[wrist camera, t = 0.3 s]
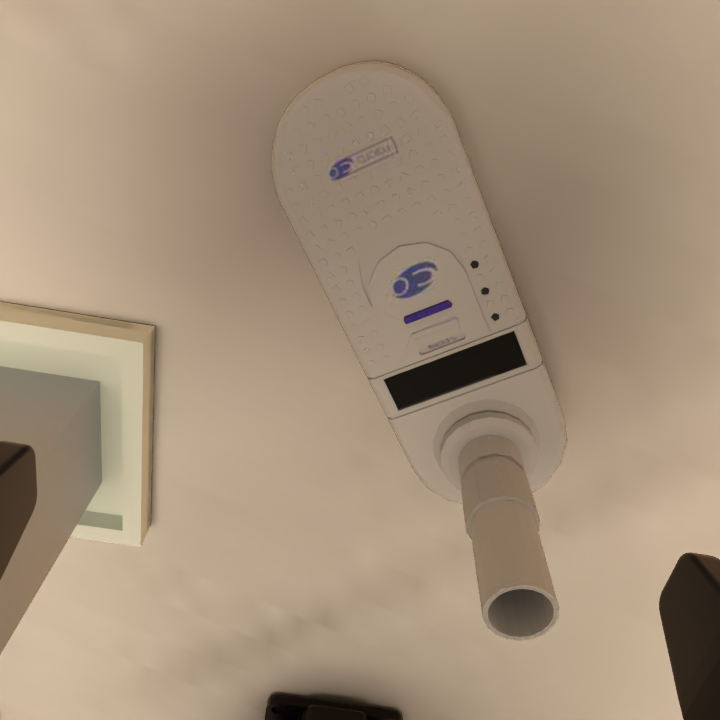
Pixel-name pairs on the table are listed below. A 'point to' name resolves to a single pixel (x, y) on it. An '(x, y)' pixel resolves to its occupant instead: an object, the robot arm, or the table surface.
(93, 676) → the table surface
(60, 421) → the plug
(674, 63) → the table surface
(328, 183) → the electronic device
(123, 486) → the tray
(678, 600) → the robot arm
